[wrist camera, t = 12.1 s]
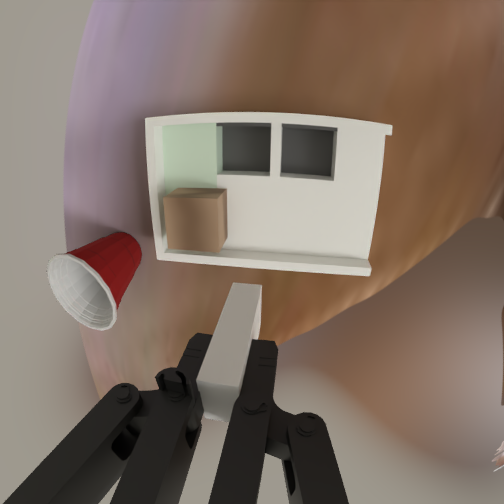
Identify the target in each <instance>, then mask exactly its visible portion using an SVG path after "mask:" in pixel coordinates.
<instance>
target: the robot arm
mask: <svg viewBox="0 0 504 504" xmlns="http://www.w3.org/2000/svg"><path fill="white" fill-rule="evenodd" d="M261 293H262V285H256V284H244V283H233V284H232V287H231V289H230V292H229V295H228V297H227V300H226V302H225V305H224V308H223V310H222V313H221V316H220V318H219V321H218V324H217V326H216V329H215V331H214V334H213V335H210V334H202V333H197V334H195V335H194V336H193V337H192V338H191V339H190V340H189V342H188V344H187V347H186V349H185V351H184V353H183V356H182V357H181V360H180V362H179V364H178V366H177V368H167V369H164V370H162V371H160V372H159V373H158V374H157V375H156V377H155V378H156V381H157V384H158V386H159V389H158V390H152V391H138V389H137V388H136V387H135V386H134V385H132V384H129V383H121V384H118V385H116V386H114V387H113V388H112V389H111V390H110V391H109V392H108V393H107V394H106V395H105V396H104V397H103V398H102V399H101V400H100V401H99V402H98V404H96V405H95V407H94V408H93V409H92V410H91V411H90V412H89V413H88V414H87V415H86V416H85V417H84V418H83V419H82V420H81V421H80V422H79V423H78V424H77V426H75V427H74V429H73V430H72V431H71V432H70V433H69V434H68V435H67V436H66V437H65V438H64V439H63V440H62V441H61V442H60V443H59V445H57V447H56V448H55V449H54V450H53V451H52V452H51V453H50V454H49V455H48V456H47V457H46V458H45V459H44V460H43V461H42V462H41V463H40V465H39V466H38V467H37V468H36V469H35V470H34V471H33V472H32V473H31V474H30V475H29V476H28V477H27V478H26V480H25V481H24V482H23V483H22V484H21V485H20V486H19V487H18V488H17V489H16V490H15V491H14V492H13V493H12V494H11V496H10V497H9V498H8V499H7V500H6V501H5V502H4V503H3V504H98V503H99V502H100V501H101V500H102V499H103V497H104V496H105V495H106V494H107V492H108V491H109V490H110V489H111V488H112V486H113V485H114V484H115V483H116V481H117V480H118V479H119V478H120V476H121V475H122V476H121V478H120V481H119V483H118V486H117V488H116V490H115V493H114V495H113V497H112V500H111V502H110V504H178V503H179V500H180V497H181V494H182V490H183V487H184V484H185V481H186V477H187V474H188V471H189V468H190V464H191V461H192V458H193V455H194V451H195V449H196V445H197V442H198V439H199V436H200V433H201V428H202V427H201V426H202V424H201V419H202V416H203V413H204V417H205V418H207V419H212V420H218V421H224V422H229V426H228V430H227V434H226V438H225V442H224V445H223V449H222V453H221V457H220V461H219V465H218V469H217V473H216V477H215V480H214V484H213V488H212V492H211V495H210V499H209V503H208V504H257V499H258V493H259V487H260V482H261V475H262V469H263V463H264V457H265V453H267V454H269V455H272V456H274V457H277V458H279V459H281V460H282V465H283V471H284V477H285V482H286V488H287V493H288V498H289V504H349V503H348V499H347V495H346V492H345V488H344V485H343V482H342V478H341V474H340V471H339V468H338V464H337V461H336V458H335V454H334V450H333V447H332V444H331V440H330V437H329V434H328V431H327V427H326V424H325V422H324V421H323V419H322V418H321V417H319V416H318V415H316V414H313V413H304V412H303V413H300V414H297V415H293V414H291V413H288V412H285V411H283V410H281V409H280V408H279V407H278V406H277V405H276V404H275V402H274V400H273V392H274V383H275V375H276V366H277V356H278V348H277V346H276V344H275V341H268V340H258V335H259V330H260V324H261Z"/></svg>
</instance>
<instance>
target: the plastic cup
mask: <svg viewBox="0 0 504 504" xmlns="http://www.w3.org/2000/svg"><path fill="white" fill-rule="evenodd" d="M141 256H142V252H141V248H140V246H139V244H138V242H137V241H136V239H134V238H133V237H132V236H131V235H129V234H127V233H124V232H120V233H114V234H111V235H109V236H107V237H103V238H100V239H98V240H96V241H94V242H92V243H89V244H87V245H85V246H83V247H81V248H79V249H75V250H73V251H71V252H67V253H65V254H57V255H55V256H54V257H53V258H52V259H50V260H49V262H48V267H47V276H48V281H49V285H50V287H51V289H52V291H53V293H54V295H55V297H56V299H57V300H58V302H59V303H60V304H61V305H62V307H63V308H64V309H65V311H66V312H68V313H69V314H70V315H71V316H72V317H73V318H75V319H76V320H77V321H78V322H80V323H82V324H83V325H85V326H87V327H89V328H92V329H96V330H101V331H103V330H106V329H110V328H111V327H112V326H113V324H114V323H115V321H116V318H117V309H118V307H119V304H120V302H121V298H122V296H123V294H124V293H125V291H126V289H127V287H128V285H129V283H130V281H131V280H132V278H133V276H134V273H135V271H136V269H137V268H138V266H139V264H140V261H141Z"/></svg>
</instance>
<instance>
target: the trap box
mask: <svg viewBox="0 0 504 504" xmlns="http://www.w3.org/2000/svg"><path fill="white" fill-rule="evenodd" d="M145 134H146V155H147V171H148V184H149V195H150V205H151V215H152V224H153V232H154V240H155V247H156V254H157V260H166V261H177V262H188V263H199V264H211V265H223V266H235V267H247V268H260V269H273V270H286V271H300V272H314V273H328V274H343V275H358V276H370V273H371V266H370V264H369V261H368V256H369V251H370V246H371V240H372V235H373V229H374V224H375V218H376V211H377V205H378V198H379V191H380V183H381V175H382V166H383V156H384V145H385V135H391V136H392V125H387V124H381V123H375V122H369V121H363V120H356V119H348V118H340V117H331V116H321V115H309V114H294V113H273V112H216V113H195V114H181V115H169V116H159V117H150V118H145ZM177 188H223V189H227V227H228V237H227V239H226V241H225V243H224V245H223V247H222V248H221V250H220V252H219V253H215V252H202V251H189V250H176V249H168V244H167V235H166V226H165V215H164V204H163V197H164V196H166V195H167V194H169V193H171V192H172V191H174V190H175V189H177Z"/></svg>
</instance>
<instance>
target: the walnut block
mask: <svg viewBox="0 0 504 504" xmlns="http://www.w3.org/2000/svg"><path fill="white" fill-rule="evenodd" d="M163 204H164V215H165V226H166V235H167V244H168V249H176V250H189V251H202V252H215V253H219V252H220V250H221V248H222V247H223V245H224V243H225V241H226V239H227V237H228V227H227V189H223V188H177V189H175V190H174V191H172V192H171V193H169V194H167V195H166V196H164V197H163Z"/></svg>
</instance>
